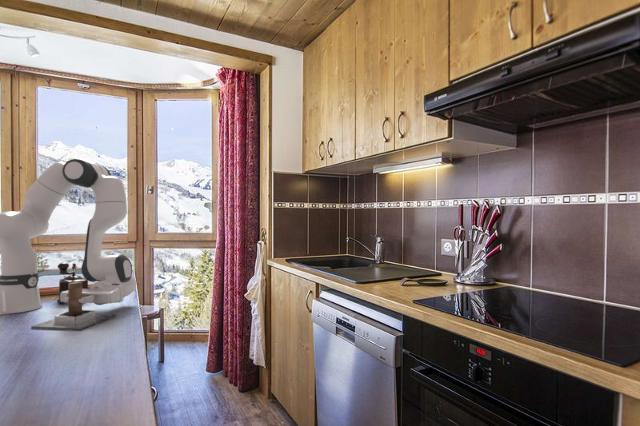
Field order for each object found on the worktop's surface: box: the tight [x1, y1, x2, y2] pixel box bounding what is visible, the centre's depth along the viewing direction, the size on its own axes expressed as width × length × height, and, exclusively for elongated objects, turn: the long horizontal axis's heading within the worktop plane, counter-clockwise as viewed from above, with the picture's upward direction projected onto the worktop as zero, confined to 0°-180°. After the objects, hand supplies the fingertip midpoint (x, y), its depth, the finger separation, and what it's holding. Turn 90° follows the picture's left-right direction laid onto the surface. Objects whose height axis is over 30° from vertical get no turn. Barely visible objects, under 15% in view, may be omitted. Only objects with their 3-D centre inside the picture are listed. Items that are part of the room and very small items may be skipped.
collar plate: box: [30, 309, 116, 332], centre depth 126 cm, size 18×16×3 cm
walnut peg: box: [67, 282, 83, 316], centre depth 126 cm, size 4×4×12 cm
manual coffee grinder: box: [56, 261, 89, 305], centre depth 157 cm, size 16×11×18 cm
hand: (73, 300), depth 125 cm, fingers closed on walnut peg, 4 cm apart
